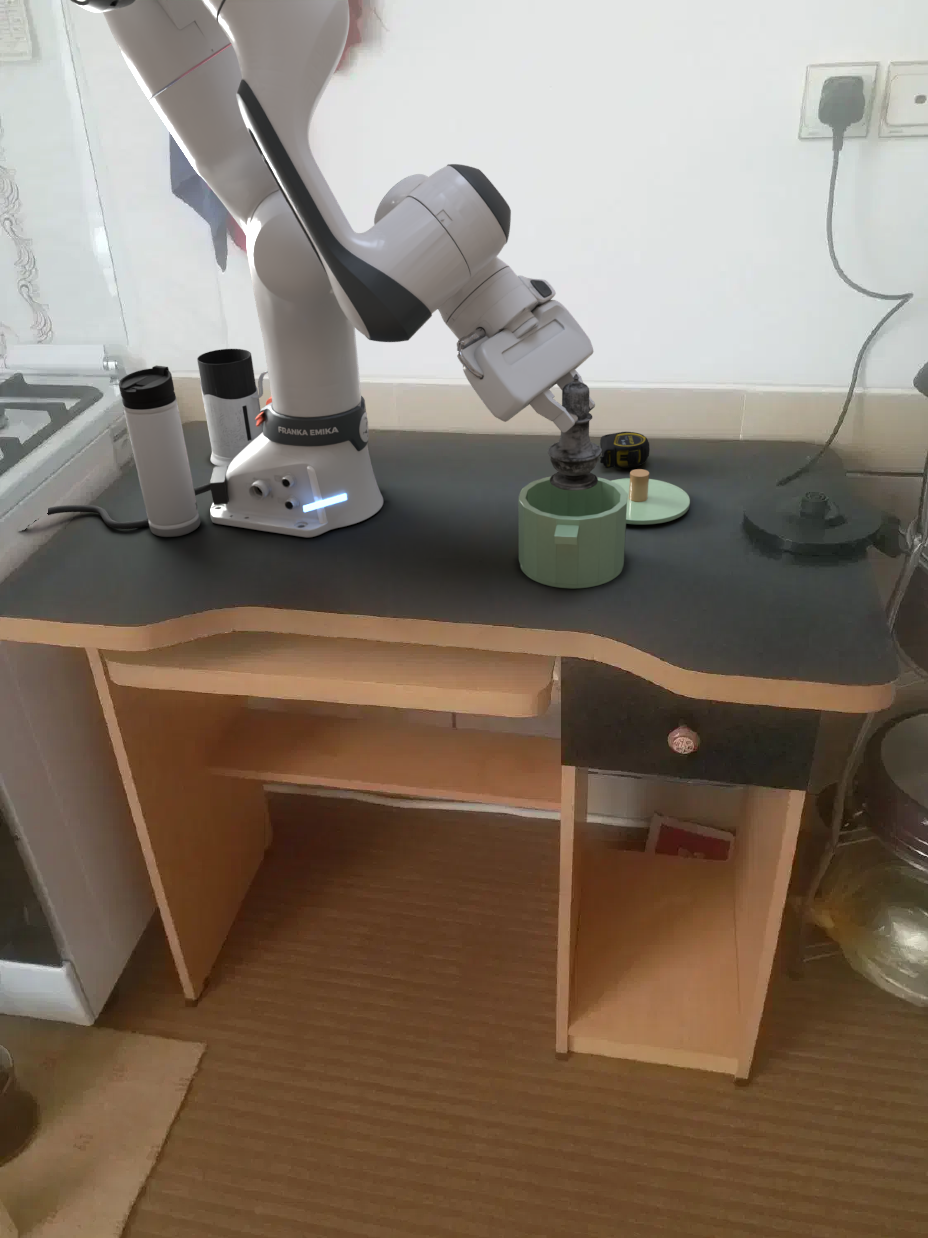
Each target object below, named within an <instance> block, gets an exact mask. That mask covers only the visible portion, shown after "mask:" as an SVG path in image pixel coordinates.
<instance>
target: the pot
mask: <svg viewBox="0 0 928 1238" xmlns="http://www.w3.org/2000/svg"><path fill="white" fill-rule="evenodd" d="M551 476H552V475H551ZM551 476H546V477H542V478H539V479H536V480H533V481H531V482H530V483H528V484H526V485H525V486H524V487H523V488H521V489H520V492H519V495H518V497H517V498H518V501H517V502H518V504H517V506H518V509H517V510H518V511H517V512H518V514H517V515H518V516H517V517H518V521H517V522H518V562H519V567H520V570H521V571H522V573H523V574H524V576H526V577H528V578H529V579H531V580H532V581H535V582H536V583H539V584H542V585H544V586H548V587H553V588H560V589H586V588H593V587H597V586H601V585H603V584H606V583H609V582H611V581H612V580H615V579H616V578H617V577H618V576H619V575H620V574H621V573H622V571H623V569H624V565H625V552H626V551H625V550H626V536H627V535H626V533H627V523H626V517H627V499H628V494H627V493H626V491H625V490H624V489H623V488H622V487H621V486H620V485H618V484H616V483H614V482H612V480H609V479H607V478H604V477H603V478H602V477H598V476H596V477H597V478H598V483H597V484H596V485H595V486H594V487H591V488H589V489H585V490H563V489H559V488H557V487H554V486H553V485H552V484H551V483H550V478H551Z"/></svg>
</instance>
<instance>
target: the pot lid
mask: <svg viewBox="0 0 928 1238" xmlns="http://www.w3.org/2000/svg"><path fill="white" fill-rule="evenodd" d="M611 481H612V482H614V483H616V484H618V485H620V486H621V487H622V488H623V489H624V490H625V491H626V493H627V494H628V499H627V517H626V525H627V524H628V525H642V526H643V525H656V524H657V525H658V524H663V523H667V522H671V521H674V520H676V519H679V518H681V517H682V516H684V515H685V514H686V513H687V512H688V510H689V509H690V505H691V498H690V496H689V494H688V493H687V491H685V490H683V489H682V488H681V487H679V486H677V485H675V484H672V483H670V482H668V481H667V482H666V481H663V480H659V479H653V478H650V472H649V470H647V469H642V468H637V469H631V470H630V472H629V477H625V478H618V479H617V478H616V479H612V480H611Z"/></svg>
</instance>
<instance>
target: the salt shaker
mask: <svg viewBox="0 0 928 1238" xmlns="http://www.w3.org/2000/svg"><path fill="white" fill-rule="evenodd" d="M573 379H574V381H572V382H570V383H568V384H566V385H565V386H564V388H563V390H561V405H562V406H563V407H564V408H566V409H567V408H568V407H570V409H571V410H572V411H573V413H574V414H575V415H576V416H577V417H578V422H577V423H576V424H575V425H574V426H572V427H571V428H570V429H569V430H568V431H566V432H561V431H560V436H559V440H558V441H557V442H554V443H552V444H551V445H549V446H548V448H547V454H548V456H549V457H550V458H549V459H550V462H551V465H552V467H553V468H554V470H555V471H557V472H555V473H554V474H552V475H551V478H550V483H551V484H552V485H553V486H554V487H557V488H559V489H563V490H585V489H589V488H591V487H594V486H595V485H596V484H597V483H598V478H597V477H598V476H597V475H596V474H594V473H592V471H593V470H594V469H595V468H596V466H597V464H598V462H599V458H600V456H602V449H601V448H600V445H598V444H597V443H595V442H592V441H591V438H590V421H592V419H593V415H592V413H590V412H589V396H590V388H589V386H588V385H587V384H585V383H584V382H583V383H582V382H580V381H578V379H579V377H578V375H577V374H575V375H574V377H573Z"/></svg>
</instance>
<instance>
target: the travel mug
mask: <svg viewBox="0 0 928 1238" xmlns="http://www.w3.org/2000/svg"><path fill="white" fill-rule="evenodd" d="M118 388H119V393H120V397H121V403H122V408H123V412H124V413H123V414H124V418H125V423H126V426H127V430H128V435H129V441H130V444H131V449H132V453H133V459H134V464H135V467H136V472H137V476H138V481H139V485H140V490H141V495H142V498H143V503H144V507H145V512H146V518H147V519H149V526H148V527H149V530H150V532H151V533H152V534H153V535H155V536H157V537H162V538H175V537H182V536H185V535H187V534H190V533H193V532H194V531H196V530H197V529H198V527H200V525H201V518H200V513H199V508H198V503H197V498H196V496H195V492H194V488H195V487H194V482H193V476H192V472H191V465H190V461H189V457H188V456H189V455H188V450H187V446H186V445H187V444H186V441H185V440H186V439H185V436H184V430H183V423H182V420H181V414H180V408H179V404H178V399H177V396H176V392H175V385H174V381H173V376H172V373H171V371H170V369H169V367H168V366H164V365H154V366H152V367H151V368H144V369H140V370H137V371H133V372H131V373H128V374H127V375H125V376H123V377H122V378H121V379H120V380H119V381H118Z"/></svg>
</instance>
